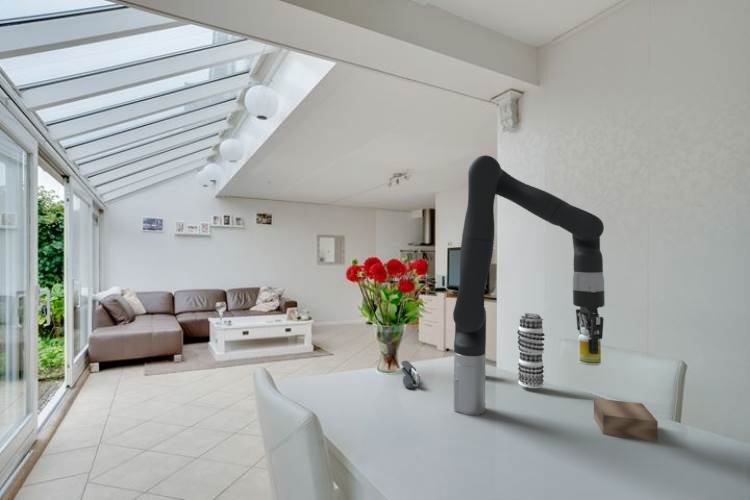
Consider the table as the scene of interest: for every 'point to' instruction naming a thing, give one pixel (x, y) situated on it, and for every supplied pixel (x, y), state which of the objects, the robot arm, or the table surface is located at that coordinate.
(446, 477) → the table surface
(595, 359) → the supplement bottle
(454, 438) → the table surface
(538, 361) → the decorative candle
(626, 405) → the brown wooden block
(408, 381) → the can opener
